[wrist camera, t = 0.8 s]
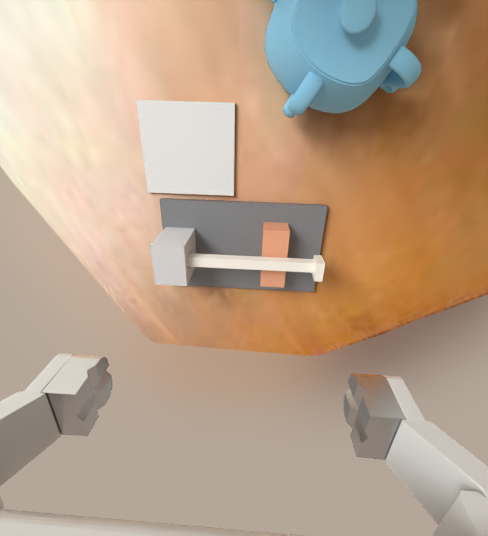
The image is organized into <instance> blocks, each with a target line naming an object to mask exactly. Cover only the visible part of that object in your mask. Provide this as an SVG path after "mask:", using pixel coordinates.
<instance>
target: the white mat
mask: <svg viewBox="0 0 488 536" xmlns="http://www.w3.org/2000/svg"><path fill="white" fill-rule="evenodd" d="M136 103H137V111H138V119H139V127H140V135H141V143H142V151H143V159H144V167H145V175H146V183H147V191H148V192H151V193H176V194H201V195H225V196H234V159H235V103H221V102H186V101H151V100H136Z"/></svg>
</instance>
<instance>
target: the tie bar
mask: <svg viewBox="0 0 488 536" xmlns="http://www.w3.org/2000/svg"><path fill="white" fill-rule="evenodd" d="M187 266H188V267H208V268H229V269H249V270H269V271H290V272H310V273H312V276H313V279H314V281H319V282H322V280H323V274H324V268H325V262H324V260H323V258H322V255H314V257H313V259H300V258H279V257H258V256H236V255H215V254H194V253H189V254H188V255H187Z"/></svg>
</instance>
